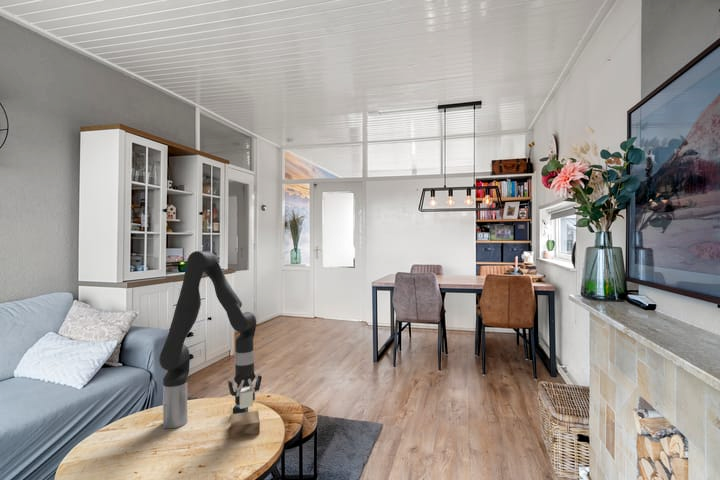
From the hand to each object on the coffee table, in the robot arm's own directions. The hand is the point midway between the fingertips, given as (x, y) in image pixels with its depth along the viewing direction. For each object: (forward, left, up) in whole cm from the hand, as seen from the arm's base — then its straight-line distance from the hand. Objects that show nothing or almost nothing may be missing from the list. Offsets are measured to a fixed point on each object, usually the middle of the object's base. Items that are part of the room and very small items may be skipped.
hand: (245, 402), depth 154 cm
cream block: (0, 0, -1) cm, 1 cm away
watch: (+2, +16, -11) cm, 20 cm away
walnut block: (0, 0, -11) cm, 11 cm away
